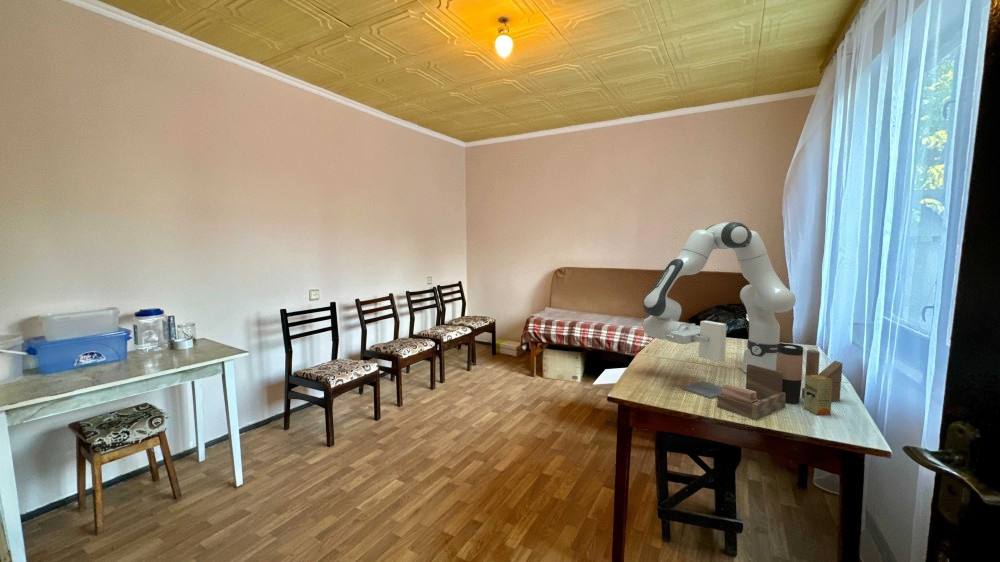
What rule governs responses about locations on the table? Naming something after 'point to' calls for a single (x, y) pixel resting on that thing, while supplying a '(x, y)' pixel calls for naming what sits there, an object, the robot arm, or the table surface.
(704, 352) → the white rectangular block
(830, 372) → the wooden block
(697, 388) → the mat
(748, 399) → the offcut stack
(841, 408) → the table surface
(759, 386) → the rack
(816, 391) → the shoe polish box
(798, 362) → the travel mug
